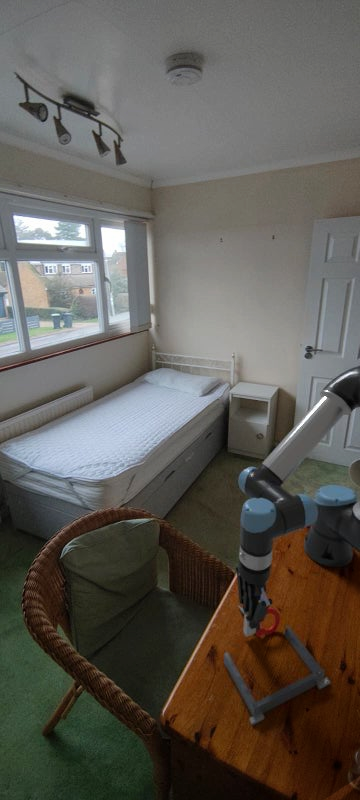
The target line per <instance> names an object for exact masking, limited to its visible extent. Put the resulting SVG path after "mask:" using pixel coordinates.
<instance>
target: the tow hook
mask: <svg viewBox="0 0 360 800" xmlns="http://www.w3.org/2000/svg"><path fill="white" fill-rule="evenodd" d="M237 607H238V609H239V610H240V612H241V613H242V614H243V615H244V610H243V607H242V606H240V605H237ZM269 614H271V615H273V616H274V622H273V624H272V626H271V627H269V628H264V627H263V626H261V622H260V623H257V627H256V632H255V635H256V637H258V638H259V637H261V635H265V636H268V635H271V634H273V633H274V632H275V631H276V630H277V629H278V627H279V625H280V623H281V618H280V617H281V616H280V613H279V612H278V610H277V609H275V608H273V607H269V608H268V610H267V613H266V616H267V615H269Z"/></svg>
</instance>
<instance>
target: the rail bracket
mask: <svg viewBox="0 0 360 800" xmlns="http://www.w3.org/2000/svg"><path fill="white" fill-rule="evenodd" d="M284 628H285V629H284V637H285V638H286V639H287V641H288V643H290V645H291V646H292V647H293V649H294V651H295V652H296V653H297V654H298V656H299V657H300V659H301V660H302V661H303V663H304V664H305V665H306V667H307V668H308V670H309V671H310V672H311V674H308V675H307V676H305V677H302V678H301V679H299V680H297V681H295V682H293V683H290V684H289V685H287V686H285V687H283V688H281V689H278V690H277V691H275V692H273V693H270V695H267V696H265V697H263V698H262V699H259V700H257V701H256V700H255V698H254V696H253V695H252V693H251V691H250V689H249V688H248V686H247V684H246V683H245V681H244V679H243V677H242V675H241V674H240V672H239V670H238V667H236V664H235V662H234V661H233V659H232V657H231V655H230V653H229V652H228V651H227V652H225V653H224V654H223V663H224V666H225V668H226V669H227V672H228V673H229V675H230V677H231V679H232V681H233V684H235V686H236V689H237V691H238V692H239V694H240V696H241V697H242V699H243V701H244V704H245V705H246V707H247V709H248V711H249V713H250V714H251V717H249V719H248V720H249V722H250V724H251V726H254V725H256V724H258V723H259V722H262V721H264V720H265V715H264V714H265V713H267V712H268V711H271V710H272V709H274V708H277V707H278V706H280V705H281V704H284V703H285V702H288V701H289V700H291V699H294V698H295V697H297V696H299V695H301V694H302V693H304V692H307V691H309V690H310V689H312V688H314V687H315V686H317V688H318V690H321V689H324V688H325V687H328V686H329V685H330V684H331V680H329V678H328V677H326V678H325V674H326V673H325V671H324V670H323V668H322V667H321V665H320V664H319V663H318V662H317V661H316V659H315V658H314V657H313V655H312V654H311V653H310V652H309V650H308V649H307V647H306V646H305V645H304V644H303V642H302V641H301V640H300V639H299V637H298V636H297V635H296V633H295V631H294V630H292V628H291V627H290V626H289V625H286V626H285V627H284Z"/></svg>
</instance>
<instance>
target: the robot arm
mask: <svg viewBox="0 0 360 800" xmlns="http://www.w3.org/2000/svg"><path fill="white" fill-rule="evenodd" d="M319 395H320V397H319V399H318V400H317V401H316V402H315V403H314V404H313V405H312V407H311V408H310V409H309V410H308V411H306V414H304V416H302V418H301V419H300V420H299V421H298V422H297V424H296V425H295V426H294V427H293V428H292V429H291V430H290V431H289V432H288V433H287V435H286V436H285V437H284V438H283V439H282V440H281V441H280V442H279V443H278V445H277V446H276V447H275V448H274V449H273V450H272V452H270V454H269V455H268V456H267V457H266V458H265V459H264V461H262V463H261V464H259V466H258V467H255V466H248V467H247V468H245V469H243V470H242V471H241V472H240V474H239V476H238V481H237V483H238V486H239V489H240V490H241V492H243V494H245V495H246V497H247V498H249V499H247V500H246V501H245V502H244V503H243V505H242V507H241V515H240V533H239V553H238V565H237V566H235V572H236V576H237V577H236V578H237V587H238V589H237V590H238V591H237V593H238V601H239V604H240V605H242V608H243V610H244V614H243V628H242V629H243V634H244V636H245V637H246V638H247V637H250V636H252V635H254V634H255V635H256V627H257V623H260V624H261V622H264V620H265V618H266V616H267V615H266V613H267V610H268V608H270V606H271V605H273V600H272V599H271V598H269V597H267V596H268V595H267V594H266V593H267V585H266V584H267V583H268V581H269V578H270V577H271V569H272V560H273V549H274V548H273V547H274V540H276V539H278V538H280V537H283V536H286V535H290V534H291V533H294V532H298V531H300V530H304V529H305V528H307V527H309V526H310V528H309V530H308V532H307V533H306V535H305V537H304V541H303V549H304V552H305V553H306V555H307V556H308V557H309V558H310V559H312V561H314V562H316V563H317V564H320V565H323V566H325V567H329V568H342V567H346V566H347V565H349V564H350V563H351V562H352V560H353V555H354V549H355V550H356V552H358V553H360V501H358V496H357V493H356V492H355V491H354V489H351V488H350V487H347V486H344V485H338V484H337V485H335V484H329V485H324V486H322V487H320V488H318V490H317V491H316V494H315V498H314V499H313V498H312V497H311V496H310V495H308V494H307V493H306V494H305V493H299V494H295V495H293V494H291V493H290V492H289V491H287V490H286V489H285V488H284V487H282V485H283V484H284V483H285V481H286V480H288V478H289V477H290V476H291V475H292V474H293V472H294V471H295V470H297V468H298V467H299V466H300V465H301V463H302V462H303V461H304V460H305V459H306V458H307V457H308V456H309V454H311V452H313V450H314V449H315V448H316V447H317V445H318V444H319V443H320V442H322V441H323V439H324V438H325V437H326V436H327V435H328V433H329V432H330V431H331V430H332V429H333V428H334V426H335V425H336V424H337V423H338V422H339V421H340V419H342V417H343V416H346V415H347V416H348V415H350V414H351V413H352V412H354V410H355V409H358V408H360V365H358V366H355V367H351V368H350V369H347V370H346V371H344V372H341V373H340V374H338V375H337V376H335V377H334V378H333V379H332V380H331V381H329V382H328V383H327V384H326V386H324V387H323V389H322V390H321V391H320V394H319Z"/></svg>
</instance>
